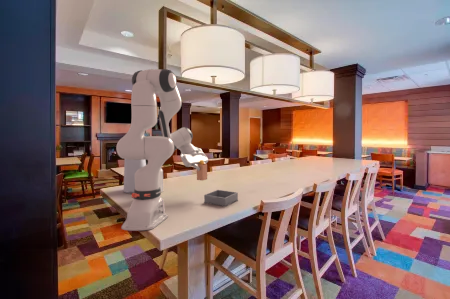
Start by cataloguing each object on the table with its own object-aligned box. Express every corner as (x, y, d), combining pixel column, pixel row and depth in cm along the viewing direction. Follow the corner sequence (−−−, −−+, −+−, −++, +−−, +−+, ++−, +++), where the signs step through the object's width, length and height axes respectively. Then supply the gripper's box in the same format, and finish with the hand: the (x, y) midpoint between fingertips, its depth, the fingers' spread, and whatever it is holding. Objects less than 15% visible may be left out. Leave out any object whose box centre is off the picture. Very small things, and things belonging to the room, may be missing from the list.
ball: (203, 163, 141) (203, 158, 142) (199, 163, 140) (198, 159, 142) (204, 165, 143) (204, 161, 145) (199, 166, 143) (199, 161, 145)
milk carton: (148, 192, 157) (147, 165, 156) (155, 190, 164) (154, 163, 163) (156, 193, 154) (155, 165, 153) (163, 191, 161) (162, 164, 159)
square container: (196, 179, 142) (196, 164, 141) (201, 178, 145) (201, 163, 145) (202, 180, 139) (202, 164, 139) (207, 179, 143) (206, 163, 142)
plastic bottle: (149, 187, 173) (148, 150, 171) (145, 192, 158) (143, 152, 156) (128, 188, 171) (126, 150, 169) (122, 193, 156) (120, 152, 154)
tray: (225, 206, 126) (225, 198, 126) (204, 202, 134) (204, 194, 133) (237, 200, 138) (237, 192, 138) (217, 196, 146) (217, 189, 145)
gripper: (181, 150, 136) (194, 168, 131) (202, 148, 153) (214, 164, 149) (176, 157, 139) (188, 175, 134) (197, 154, 156) (209, 170, 151)
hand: (202, 169), depth 142 cm, fingers closed on square container, 4 cm apart
